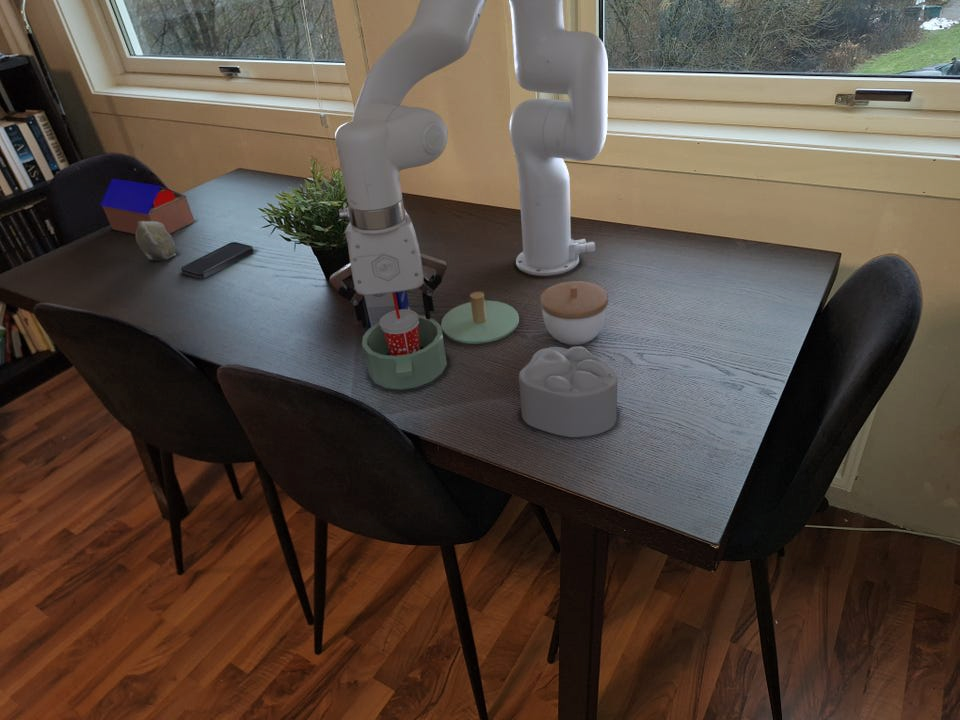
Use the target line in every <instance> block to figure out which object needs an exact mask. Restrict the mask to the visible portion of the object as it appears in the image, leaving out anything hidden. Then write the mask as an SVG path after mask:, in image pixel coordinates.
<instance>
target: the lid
mask: <svg viewBox="0 0 960 720" xmlns="http://www.w3.org/2000/svg"><path fill="white" fill-rule="evenodd" d="M469 298H470V302H466V303H462V304H459V305H457V306H455V307H453V308H452V309H450V310H449V311H447V312H446V313H445V314H444V315H443V317H442V319H441V321H440V325H441V327H442V334H443V335H445V336H446V337H447V338H448V339H450V340H452V341H454V342H457V343H462V344H469V345H471V344H472V345H481V344H487V343H492V342H496V341H498V340H502V339H504V338H506V337H508V336H509V335H510V334H512V333H514V331H515V330H516V329H517V328H518V326H519V323H520V316H519V315H520V314H519V313H518V311H517V310H516V309H515V308H514V307H513V306H512V305H509V304H507V303H505V302H501V301H497V300H486V299H485V293H484V292H482V291H474V292H471V293H470V295H469Z"/></svg>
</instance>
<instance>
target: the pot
mask: <svg viewBox="0 0 960 720" xmlns="http://www.w3.org/2000/svg"><path fill="white" fill-rule="evenodd" d="M418 318H419V324H418V332H419V341H420V348H421V347H422V349H420V350H419V351H416V352H414V353H411V354H405V355H398V356H391V355H390V353H389V350H388V346H387V343H386V339H385V336H384V332H383V330H382V329H381V326H380V322H379V323H377V324H376V325H374V326H373V327H371V328H369V329H367V331H366V332H365V333H364V335H363V336H362V341H361V347H362V351H363V356H364V360H365V364H366V368H367V372H368V376H369V377H370V378H371V379H370V380H372V381H373V383H374V384H376V385H378V386H381V387H383V388H385V389H393V390H406V389H407V390H408V389H412V388H414V389H415V388H419V387H421V386H423V385H427V384H428V383H430V382H432V381H434V380H435V379H436V378H438V377H439V376H440V375H442V374H443V372H444V370H445V368H446V366H447V365H448V361H447V354H446V348H445V342H444V341H445V340H444V333H443V331H442V327H441V323H439V322H438V321H436V320H435V319H434V318H432V317H430V319H428V320H427V319H426V317H425V315H421V314H418ZM387 354H388V355H387Z"/></svg>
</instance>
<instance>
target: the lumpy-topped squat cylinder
mask: <svg viewBox="0 0 960 720" xmlns="http://www.w3.org/2000/svg"><path fill="white" fill-rule="evenodd" d="M518 374H519V375H518V386H519V397H520V409H521V418H522V420H523V421H524V422H525V423H526V424H527V425H528V426H530V427H532V428H535V429H538V430H541V431H544V432H545V433H546V432H547V433H550V434H554V435H557V436H561V437H562V436H563V437H568V438H581V437H590V436H595V435H600V434H602V433H605V432H607V431H608V430H610V429H612V428H613V427H614V426H615V424H616V422H617V415H618V414H617V412H618V376H617V373H616V371H615V369H614V367H613V366H612V365H610V363H608V362H607V361H606V360H604V359H603V358H601V357H600V356H598V355H595V354H593V353H591V352H590V351H589V350H588V349H587V348H585V347H583V346H581V345H574V346H572V347H570V348H565V347H558V346H549V347H544V348H542V349H539V350H537V351H536V352H535V353H533V356H532V357H531V360H530V361H529V363H528V364H527V365H526V366H524V367H523V368H522V369H521V370H520V371H519V373H518Z"/></svg>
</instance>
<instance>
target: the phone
mask: <svg viewBox="0 0 960 720" xmlns="http://www.w3.org/2000/svg"><path fill="white" fill-rule="evenodd" d="M253 253H254V248H253V246H252V245H250V244H245V243H241V242H236V241H231V242H229V243H226V244H225V245H223V246H221V247H219V248H217V249H214V250H213V251H210V252H208V253H206V254H205V255H203V256H201V257H199V258H197V259H195V260H192V261H191V262H188V263H187V264H184V265H182V266H181V267H180V270H181V272H182V274H183V275H186V276H190V277H192V278H196V279H205V278H208V277H209V276H211V275H214V274H215V273H217V272H219V271H221V270H223V269H225V268H227V267H229V266H231V265H232V264H234V263H236V262H238V261H240V260H242V259H244V258H246V257H248V256H249V255H251V254H253Z"/></svg>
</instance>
